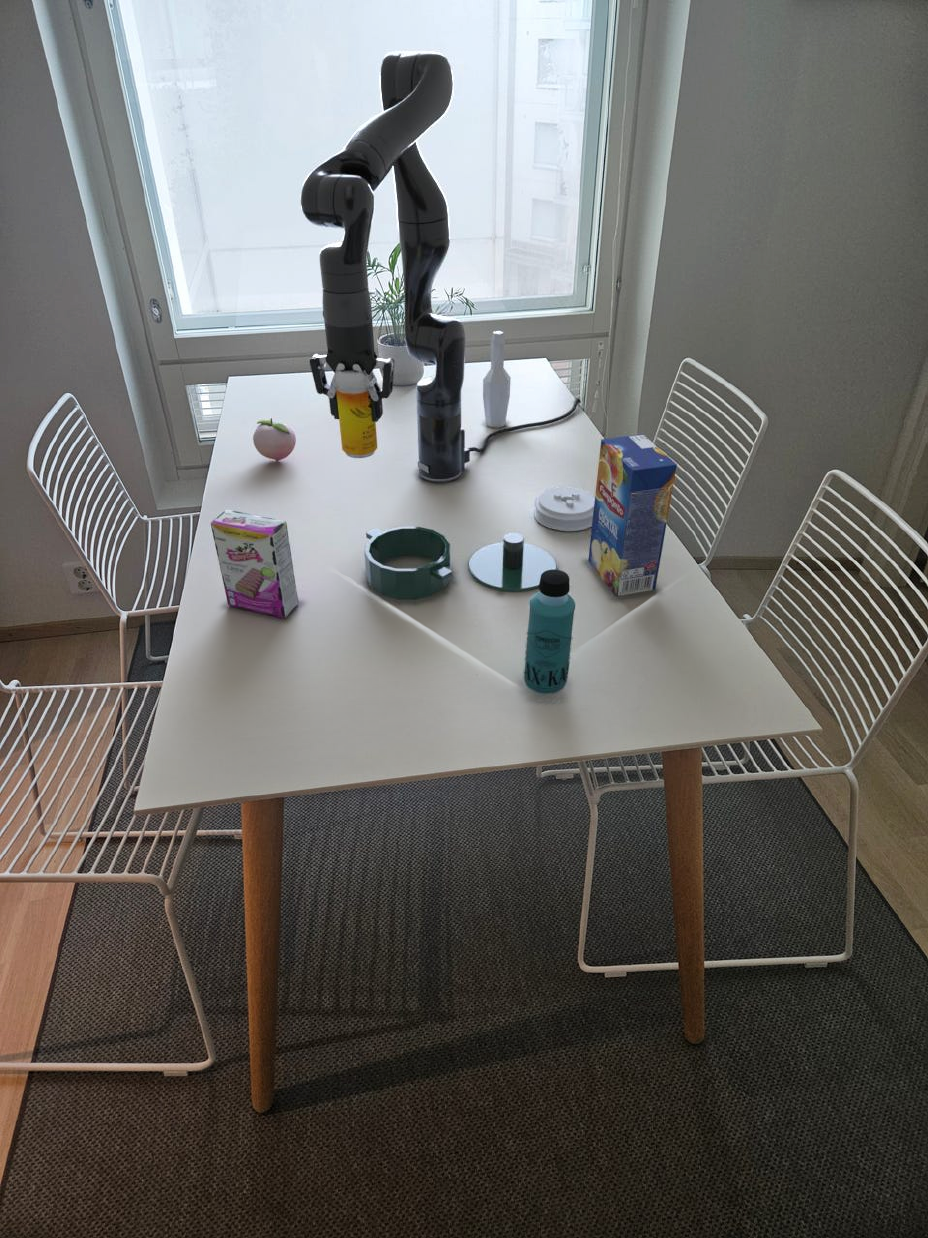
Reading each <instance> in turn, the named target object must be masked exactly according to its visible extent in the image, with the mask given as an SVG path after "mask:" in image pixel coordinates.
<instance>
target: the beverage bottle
mask: <svg viewBox="0 0 928 1238" xmlns="http://www.w3.org/2000/svg"><path fill="white" fill-rule="evenodd" d="M570 587H571V585H570V576H569V574H568V573H567V572H565V571H563V570H560V569H556V570H555V569H553V570H547V571H545V572H543V573H542V574H541V577H540V583H539V588H538V590H539V591H537V592H536V593H535V594H533V595H532V596H531V598H530V600H529V613H528V622H527V623H528V625H527V631H526V637H525V640H526V643H525V645H524V646H525V650H524V651H525V652H524V655H525V657H524V670H523V674H522V675H523V679H524V682H525V684H526V686H527V688H528V689H530V690H531V691H533V692H535V693H538V694H543V695H552V694H555V693H558V692H559V691H561V690H563V689H564V687H565V686H566V684H567V681H568V678H569V671H570V664H571V662H570V661H571V660H570V656H571V653H572V640H573V639H574V638H573V627H574V616H575V610H576V602H575V600H574V598H573V597H572V596H571V595H570V594H569V592H570Z"/></svg>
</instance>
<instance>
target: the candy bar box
mask: <svg viewBox="0 0 928 1238" xmlns="http://www.w3.org/2000/svg"><path fill="white" fill-rule="evenodd" d="M209 524H210V527H211V532H212V537H213V542H214V547H215V551H216V556H217V560H218V564H219V570H220V574H221V578H222V584H223V588H224V592H225V596H226V603H227V606H229V607H233V608H236V609H242V610H246V611H250V612H251V611H252V612H254V613H260V614H263V615H268V616H272V617H276V618H282V619H286V618H287V617H288V616H289V615H290V614H291V612H292V611H293V610H294V609H295V608H296V607H297V606H298V605H299V597H298V592H297V591H298V590H297V585H296V578H295V577H296V576H295V571H294V564H293V558H292V557H293V556H292V552H291V544H290V536H289V531H288V524H287V521H286V520H282V519H276V518H272V517H266V516H261V515H257V514H252V513H247V512H241V511H238V510H237V511H236V510H232V509H227V508H226V509H225V510H224V511H222V513H220V514H219V515H218V516H216V518H214V519H213V520H211V522H209Z"/></svg>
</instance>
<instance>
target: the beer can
mask: <svg viewBox="0 0 928 1238" xmlns="http://www.w3.org/2000/svg"><path fill="white" fill-rule="evenodd" d="M364 372H365V370H364ZM365 374H366V372H365ZM366 376H367V377H368V379H369V381H370V382H371V381H372V372H371V373H370V375H367V374H366ZM335 378H336V393H337V403H338V413H339V419H338V421H339V431H340V440H341V442H340V443H341V450H342V451H343V452H344V453H345V455H346V456H347V457H349V458H352V459H365V458H369V457H371V456H372V455H374V454H375V452H376V451H377V450H378V437H377V424H376V423H377V422H373V420H372V407H371V401H372V398H371V396H370V395H369V389H366V378H365V377H364V375H363V374H362V373H361V372H355V371H350V370H349V371H344V372H341V371H338V372H337V374H336V376H335Z"/></svg>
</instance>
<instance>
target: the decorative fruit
mask: <svg viewBox="0 0 928 1238" xmlns="http://www.w3.org/2000/svg"><path fill="white" fill-rule="evenodd" d="M256 424H257V425H258V424H259V425H258V426H257V427H256V429H255V430H254V433H253V435H252V442H253V445H254V448H255V449H256V451H257V452H258V454H260V455H261V456H263V457H265V458H267V459H269V460H275V461H277V462H278V461H282V460H284V459H286V458H287V457H289V456H290V455H291V454H292V453H293V451H294V449H295V447H296V443H297V438H296V434H295V432H294V430H293V429H292V428H291V427H290V426H289V425H287V424H285V423H283V422H274V421H273V418H272V417H271V418H270V419H261V420H258V421H257V422H256Z"/></svg>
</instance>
